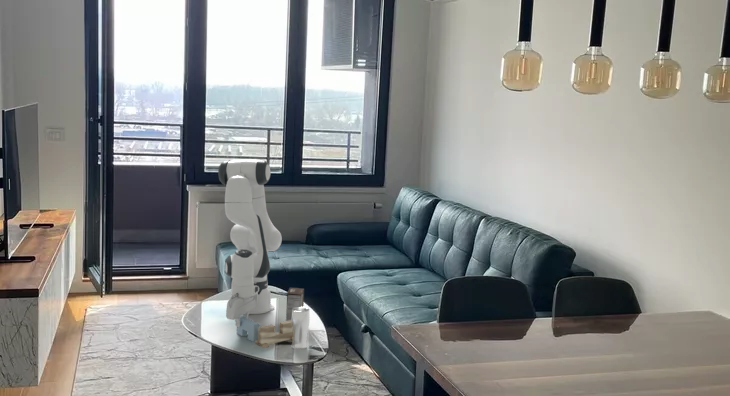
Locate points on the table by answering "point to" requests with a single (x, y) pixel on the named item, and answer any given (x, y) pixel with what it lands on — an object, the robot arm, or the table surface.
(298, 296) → the coffee box
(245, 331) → the notched blue-grey block
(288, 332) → the birch rail
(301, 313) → the beer glass
